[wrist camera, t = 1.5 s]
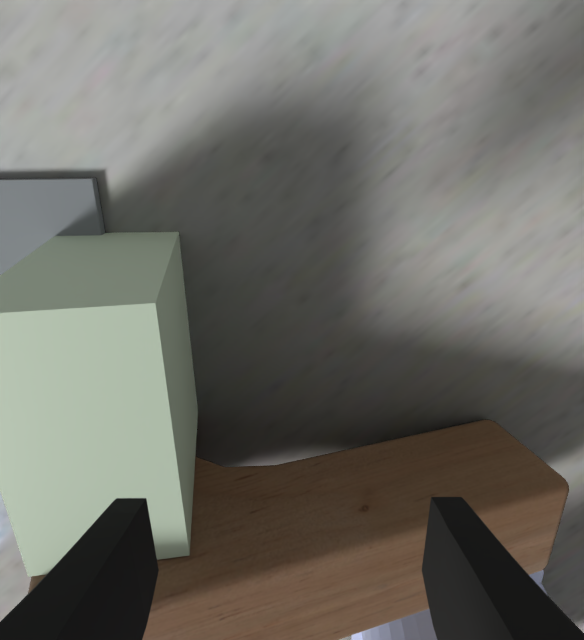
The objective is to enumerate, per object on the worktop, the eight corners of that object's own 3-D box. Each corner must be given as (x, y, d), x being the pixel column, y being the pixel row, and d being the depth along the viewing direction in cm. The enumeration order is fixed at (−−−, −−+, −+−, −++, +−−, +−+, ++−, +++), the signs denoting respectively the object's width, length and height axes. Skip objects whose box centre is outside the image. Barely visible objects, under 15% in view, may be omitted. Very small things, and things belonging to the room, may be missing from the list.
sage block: (179, 229, 18) (155, 303, 11) (198, 406, 21) (189, 555, 14) (55, 235, 18) (-57, 316, 10) (93, 416, 21) (28, 576, 13)
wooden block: (57, 432, 20) (433, 367, 25) (76, 515, 21) (424, 438, 27) (12, 641, 12) (576, 482, 17) (49, 744, 14) (550, 572, 19)
